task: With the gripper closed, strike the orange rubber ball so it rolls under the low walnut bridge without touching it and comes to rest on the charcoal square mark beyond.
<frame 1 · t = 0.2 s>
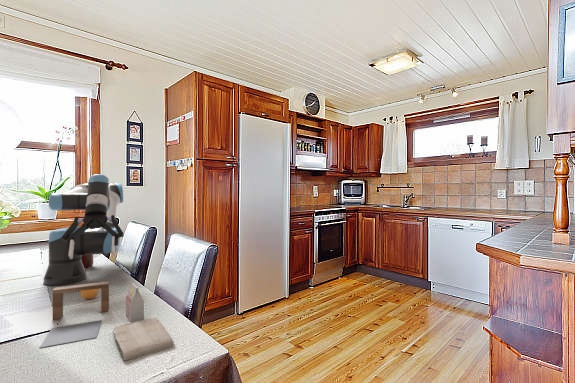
hand: (92, 255, 112), 15 cm above the table, tool tilted 35°, fingers open, 13 cm apart
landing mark: (73, 333, 82), on the table
bridge: (82, 314, 95), on the table
washcloth: (141, 342, 79), on the table
ball: (89, 291, 109), on the table
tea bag: (134, 318, 93), on the table
mug: (82, 268, 153), on the table
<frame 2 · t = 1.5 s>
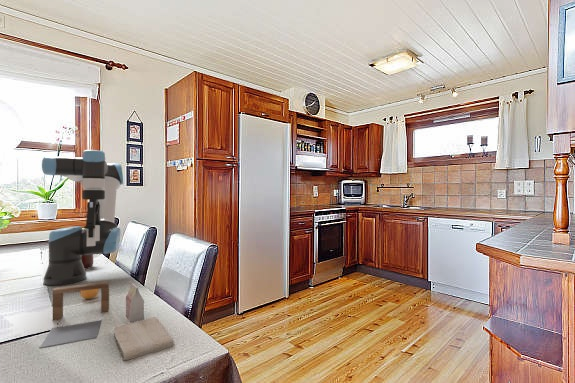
hand: (93, 243, 118), 19 cm above the table, tool pointing down, fingers open, 13 cm apart
nothing on the table moved.
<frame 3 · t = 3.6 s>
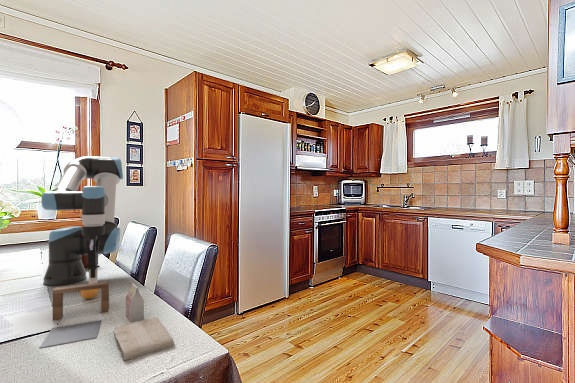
hand: (93, 285, 117), 2 cm above the table, tool pointing down, fingers closed
nothing on the table moved.
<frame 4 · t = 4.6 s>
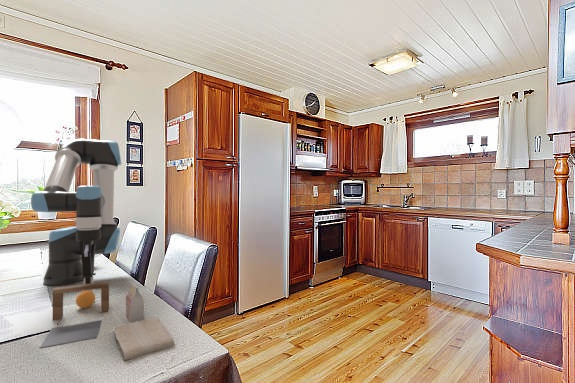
hand: (88, 295, 106), 2 cm above the table, tool pointing down, fingers closed
ball: (85, 299, 101), on the table
everything else where it was.
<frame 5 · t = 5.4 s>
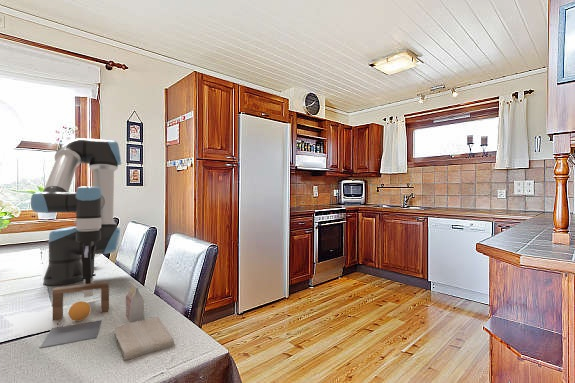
hand: (88, 295, 106), 2 cm above the table, tool pointing down, fingers closed
ball: (79, 311, 91), on the table
everything else where it was.
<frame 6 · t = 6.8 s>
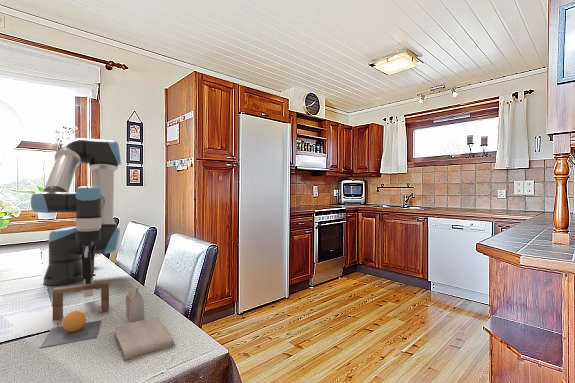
hand: (88, 295, 106), 2 cm above the table, tool pointing down, fingers closed
ball: (74, 321, 84), on the table
everything else where it was.
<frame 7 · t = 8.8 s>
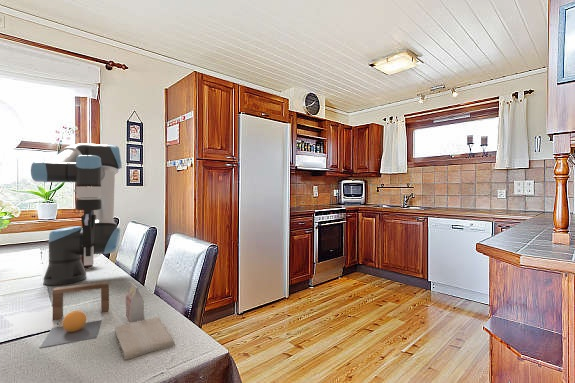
hand: (88, 264, 107), 13 cm above the table, tool pointing down, fingers closed
nothing on the table moved.
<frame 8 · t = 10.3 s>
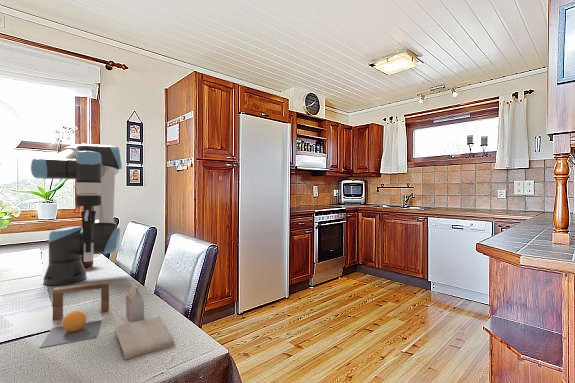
hand: (88, 260, 107), 14 cm above the table, tool pointing down, fingers closed
nothing on the table moved.
at the end: ball 1.3 cm from the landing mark (horizontally); ball never touched bridge; ball at rest at the end (0.0 cm/s) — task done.
